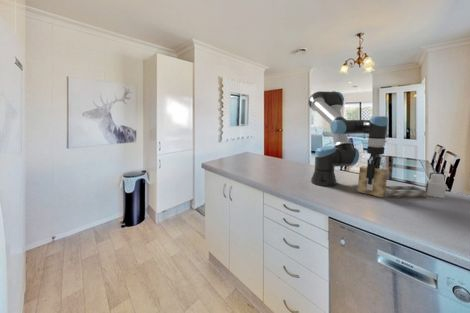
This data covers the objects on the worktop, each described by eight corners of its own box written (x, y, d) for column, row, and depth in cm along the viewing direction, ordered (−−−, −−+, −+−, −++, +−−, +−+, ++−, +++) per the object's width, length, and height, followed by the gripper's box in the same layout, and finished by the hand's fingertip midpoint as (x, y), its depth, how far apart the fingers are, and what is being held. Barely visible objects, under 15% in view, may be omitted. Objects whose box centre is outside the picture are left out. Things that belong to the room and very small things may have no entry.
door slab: (357, 191, 120) (359, 167, 117) (360, 189, 123) (362, 166, 120) (382, 197, 111) (385, 171, 108) (384, 195, 114) (387, 170, 111)
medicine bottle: (425, 192, 119) (428, 171, 117) (442, 194, 115) (446, 173, 113) (425, 195, 114) (429, 173, 112) (444, 198, 110) (448, 176, 107)
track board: (389, 197, 112) (389, 190, 112) (379, 191, 121) (379, 185, 121) (425, 197, 111) (426, 191, 110) (413, 192, 120) (414, 186, 119)
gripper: (378, 148, 104) (373, 194, 108) (389, 145, 114) (384, 187, 119) (361, 147, 109) (357, 190, 114) (373, 144, 120) (369, 183, 125)
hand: (371, 188), depth 116 cm, fingers closed on door slab, 4 cm apart
